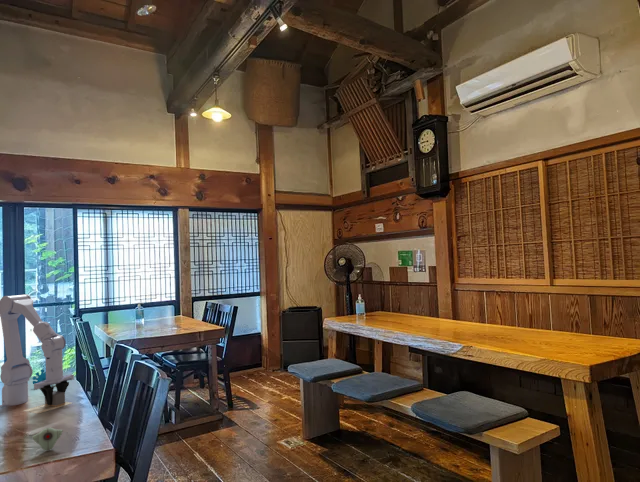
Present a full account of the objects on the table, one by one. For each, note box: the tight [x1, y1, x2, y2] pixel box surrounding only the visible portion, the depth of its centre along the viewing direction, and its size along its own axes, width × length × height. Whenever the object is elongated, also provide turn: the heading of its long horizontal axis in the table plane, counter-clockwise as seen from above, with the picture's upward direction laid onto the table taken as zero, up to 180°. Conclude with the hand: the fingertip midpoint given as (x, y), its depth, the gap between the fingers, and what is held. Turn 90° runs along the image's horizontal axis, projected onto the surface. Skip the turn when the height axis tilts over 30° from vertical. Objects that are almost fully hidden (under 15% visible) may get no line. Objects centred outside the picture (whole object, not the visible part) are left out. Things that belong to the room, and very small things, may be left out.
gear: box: [32, 369, 46, 385], centre depth 210 cm, size 11×6×10 cm
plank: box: [23, 401, 72, 415], centre depth 173 cm, size 10×13×1 cm
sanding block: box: [44, 390, 66, 407], centre depth 175 cm, size 7×4×4 cm, turn 62°
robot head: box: [31, 427, 64, 451], centre depth 133 cm, size 8×4×7 cm, turn 121°
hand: (55, 403), depth 175 cm, fingers closed on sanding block, 4 cm apart
